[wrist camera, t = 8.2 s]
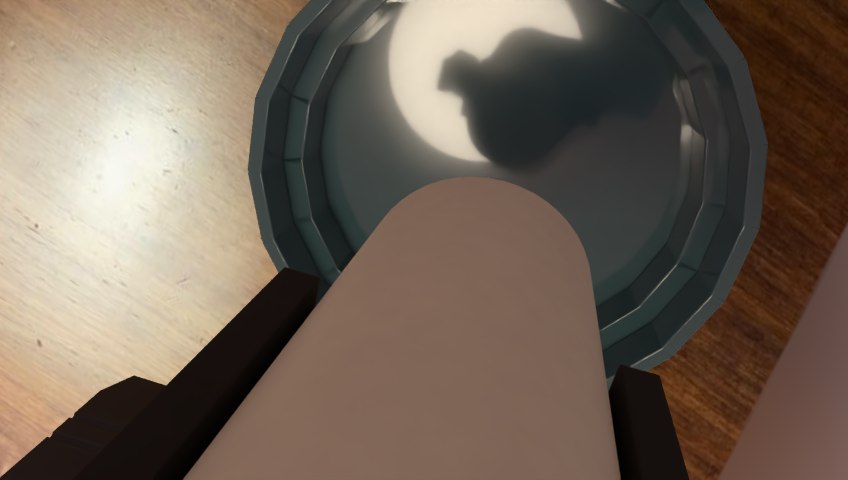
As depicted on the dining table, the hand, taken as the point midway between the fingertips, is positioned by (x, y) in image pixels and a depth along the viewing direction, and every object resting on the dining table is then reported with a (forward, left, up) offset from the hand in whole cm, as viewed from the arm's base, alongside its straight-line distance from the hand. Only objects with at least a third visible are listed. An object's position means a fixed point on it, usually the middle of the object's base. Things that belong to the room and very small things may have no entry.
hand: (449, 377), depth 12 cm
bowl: (0, 0, -17) cm, 17 cm away
